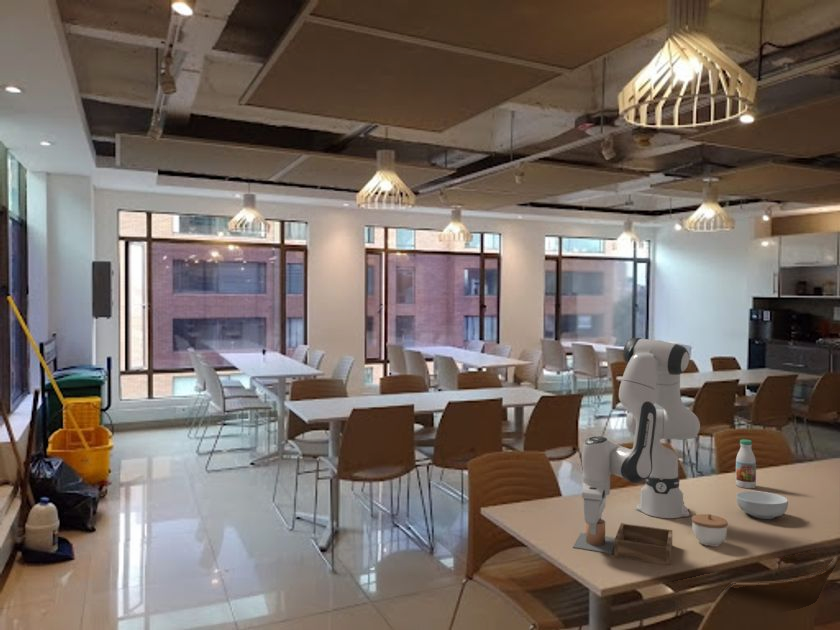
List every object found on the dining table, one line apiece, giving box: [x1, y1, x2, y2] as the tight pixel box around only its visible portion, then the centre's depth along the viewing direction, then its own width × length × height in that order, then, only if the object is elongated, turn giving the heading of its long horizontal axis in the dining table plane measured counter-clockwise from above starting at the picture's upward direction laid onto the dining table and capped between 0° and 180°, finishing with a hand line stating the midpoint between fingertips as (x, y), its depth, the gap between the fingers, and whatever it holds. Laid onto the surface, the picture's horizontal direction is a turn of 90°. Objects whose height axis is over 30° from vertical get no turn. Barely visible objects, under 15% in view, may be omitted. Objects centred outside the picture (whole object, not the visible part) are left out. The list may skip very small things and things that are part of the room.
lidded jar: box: [691, 513, 729, 547], centre depth 205 cm, size 11×11×9 cm
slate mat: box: [572, 532, 615, 555], centre depth 204 cm, size 14×12×1 cm
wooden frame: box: [613, 522, 673, 566], centre depth 198 cm, size 17×16×5 cm
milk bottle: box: [735, 439, 757, 489], centre depth 271 cm, size 8×8×20 cm
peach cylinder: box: [585, 518, 606, 546], centre depth 204 cm, size 6×6×7 cm
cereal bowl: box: [735, 490, 789, 520], centre depth 232 cm, size 17×17×7 cm
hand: (595, 529), depth 204 cm, fingers open, 8 cm apart
